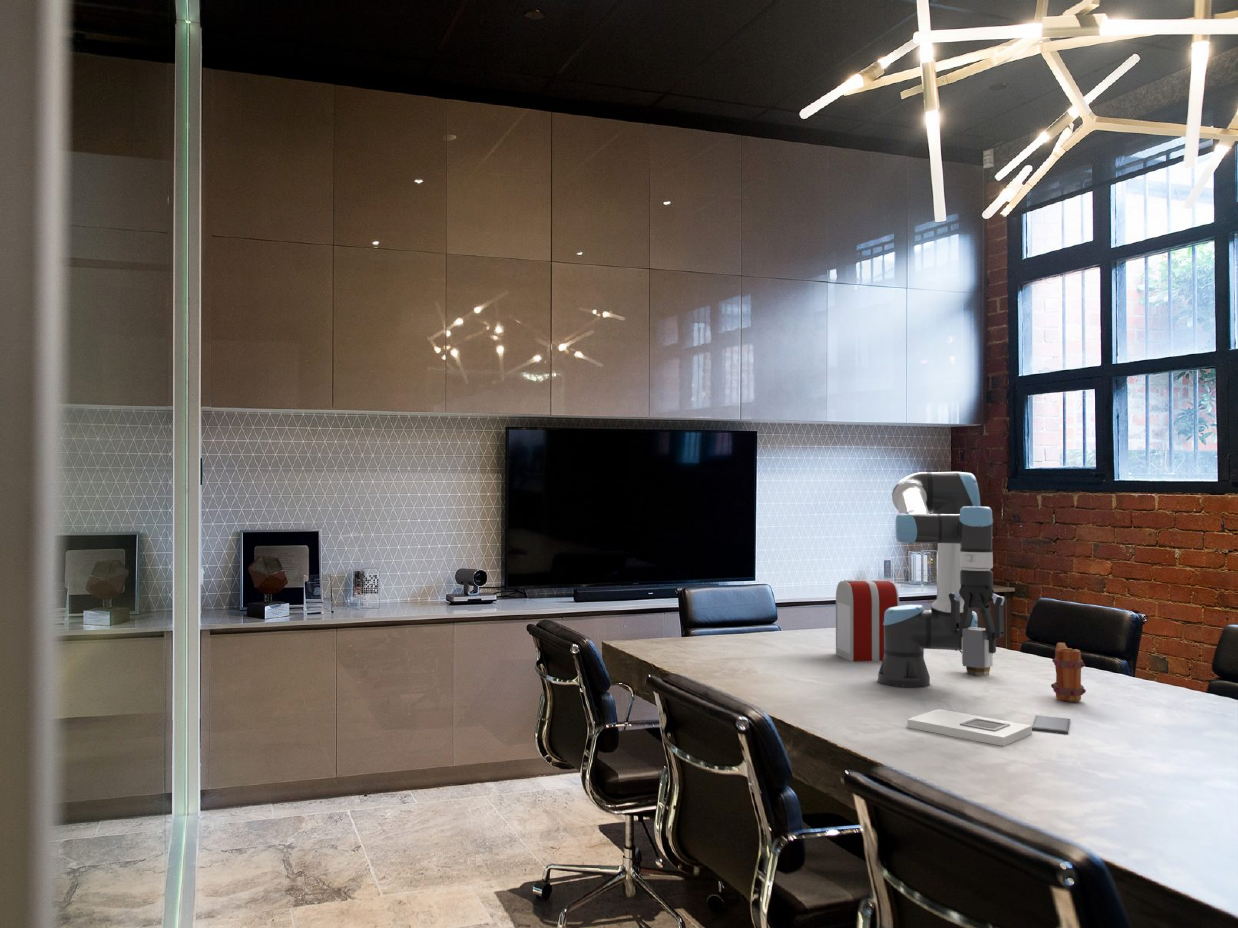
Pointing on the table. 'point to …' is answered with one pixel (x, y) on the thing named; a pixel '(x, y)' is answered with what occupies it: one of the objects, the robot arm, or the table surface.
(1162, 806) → the table surface
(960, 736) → the outlet plate
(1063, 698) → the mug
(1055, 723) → the phone
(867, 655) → the red striped box
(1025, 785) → the table surface
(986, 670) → the ceramic cup
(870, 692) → the table surface
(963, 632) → the grey rectangular block
